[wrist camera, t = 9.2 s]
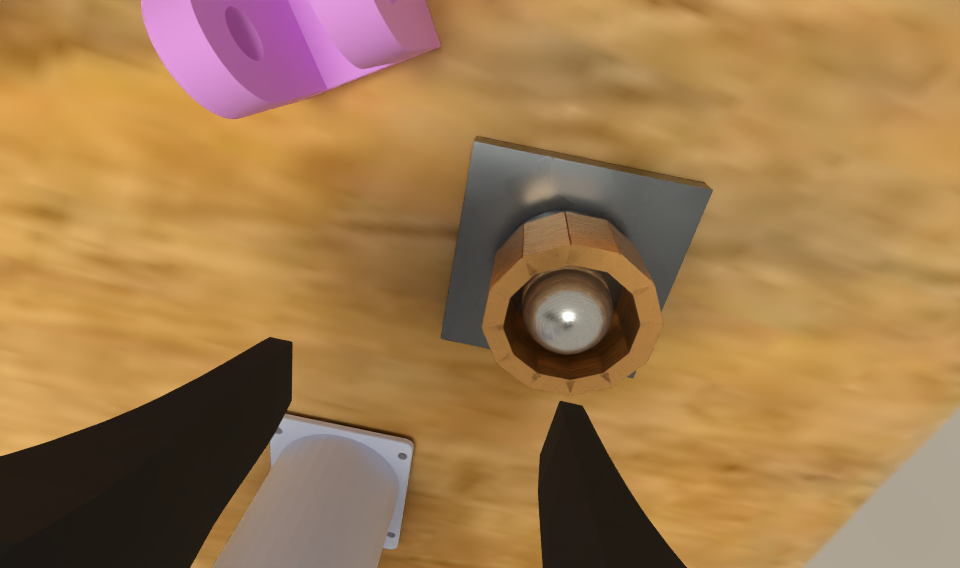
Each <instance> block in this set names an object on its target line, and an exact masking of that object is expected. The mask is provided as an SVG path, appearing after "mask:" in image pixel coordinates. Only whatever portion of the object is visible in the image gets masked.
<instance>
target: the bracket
mask: <svg viewBox="0 0 960 568" xmlns="http://www.w3.org/2000/svg"><path fill="white" fill-rule="evenodd" d="M141 9H142V15H143V19H144V23H145V27H146V29H147V32H148V35H149V37H150V40H151V42H152V44H153V46H154V48H155V50H156V52H157V54H158V55H159V57H160V59H161V60H162V62H163V63H164V65H165V67H166V68H167V69H168V71H169V72H170V74H171V75H172V76H173V77H174V79H175V80H176V81H177V82H178V84H179V85H180V86H181V87H182V88H183V89H184V90H185V91H186V92H187V93H188V94H189V95H190V96H191V97H192V98H193V99H194V100H195V101H196V102H198V103H199V104H200V105H202V106H203V107H204V108H206V109H207V110H209V111H211V112H212V113H214V114H216V115H218V116H221V117H224V118H228V119H238V118H242V117H246V116H249V115H253V114H256V113H260V112H263V111H267V110H270V109H274V108H277V107H281V106H284V105H288V104H291V103H295V102H298V101H302V100H305V99H309V98H311V97H314V96H316V95H319V94H321V93H324V92H327V91H329V90H332V89H334V88H337V87H339V86H342V85H344V84H347V83H350V82H352V81H355V80H357V79H360V78H362V77H365V76H368V75H370V74H373V73H375V72H378V71H380V70H383V69H385V68H388V67H391V66H393V65H396V64H398V63H401V62H403V61H406V60H408V59H411V58H414V57H416V56H419V55H421V54H424V53H426V52H429V51H431V50H434V49H437V48H439V47H441V45H440V42H439V39H438V36H437V33H436V30H435V27H434V24H433V21H432V18H431V15H430V12H429V9H428V6H427V3H426V0H141Z"/></svg>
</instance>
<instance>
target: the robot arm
mask: <svg viewBox="0 0 960 568" xmlns="http://www.w3.org/2000/svg"><path fill="white" fill-rule="evenodd" d="M291 401H292V342H290V341H286V340H281V339H277V338H272V337H269V338H267V339H265V340H264V341H262V342H260V343H258V344H257V345H255V346H253V347H251V348H250V349H248V350H246V351H245V352H243V353H241V354H239V355H238V356H236V357H234V358H232V359H231V360H229V361H227V362H226V363H224V364H222V365H220V366H218V367H217V368H215V369H213V370H211V371H210V372H208V373H206V374H204V375H202V376H201V377H199V378H197V379H195V380H193V381H191V382H189V383H187V384H185V385H183V386H181V387H179V388H177V389H175V390H173V391H171V392H169V393H167V394H165V395H163V396H161V397H159V398H157V399H155V400H153V401H151V402H149V403H147V404H145V405H142V406H140V407H138V408H136V409H133V410H131V411H129V412H126V413H124V414H121V415H119V416H117V417H114V418H112V419H109V420H107V421H104V422H102V423H99V424H97V425H94V426H91V427H88V428H85V429H83V430H80V431H77V432H74V433H71V434H69V435H66V436H63V437H60V438H58V439H55V440H52V441H49V442H46V443H43V444H40V445H37V446H33V447H30V448H27V449H24V450H21V451H17V452H14V453H11V454H7V455H4V456H0V568H190V567H191V565H192V563H193V561H194V559H195V558H196V556H197V554H198V552H199V550H200V549H201V547H202V545H203V543H204V541H205V540H206V538H207V536H208V534H209V532H210V531H211V529H212V527H213V525H214V524H215V522H216V521H217V519H218V517H219V516H220V514H221V513H222V511H223V509H224V508H225V507H226V505H227V504H228V502H229V501H230V499H231V498H232V496H233V495H234V493H235V492H236V490H237V489H238V488H239V486H240V485H241V483H242V482H243V480H244V479H245V477H246V476H247V474H248V473H249V471H250V470H251V469H252V467H253V466H254V464H255V463H256V461H257V460H258V458H259V457H260V455H261V454H262V452H263V451H264V449H265V448H266V446H267V445H268V443H269V442H270V455H271V470H270V472H269V474H268V475H267V477H266V479H265V480H264V482H263V484H262V485H261V487H260V489H259V490H258V492H257V493H256V495H255V497H254V498H253V500H252V502H251V503H250V505H249V507H248V508H247V510H246V512H245V513H244V515H243V517H242V518H241V520H240V522H239V523H238V525H237V527H236V528H235V530H234V532H233V533H232V535H231V537H230V538H229V540H228V542H227V543H226V545H225V547H224V548H223V550H222V552H221V553H220V555H219V557H218V558H217V560H216V562H215V563H214V565H213V567H212V568H377V567H378V564H379V560H380V557H381V553H382V550H383V548H386V549H395V548H397V546H398V543H399V537H400V531H401V525H402V518H403V512H404V506H405V499H406V493H407V487H408V481H409V474H410V468H411V462H412V455H413V449H414V444H413V443H412V442H411V441H410V440H409V439H406V438H401V437H396V436H391V435H386V434H381V433H376V432H372V431H367V430H362V429H357V428H352V427H347V426H342V425H338V424H333V423H328V422H323V421H318V420H313V419H308V418H304V417H299V416H294V415H289V414H285V413H286V411H287V409H288V407H289V405H290V403H291ZM278 427H279V428H278ZM280 428H281V429H280ZM402 453H404V454H402ZM538 501H539V517H540V532H541V547H542V562H543V568H687V567H686V566H685V565H684V564H683V562H682V561H681V560H680V559H679V558H678V557H677V555H676V554H675V553H674V552H673V550H672V549H671V548H670V547H669V545H668V544H667V543H666V541H665V540H664V539H663V538H662V536H661V535H660V534H659V532H658V531H657V530H656V528H655V527H654V526H653V524H652V523H651V522H650V520H649V519H648V517H647V516H646V515H645V513H644V512H643V510H642V509H641V507H640V506H639V504H638V503H637V501H636V500H635V498H634V497H633V495H632V494H631V492H630V490H629V489H628V487H627V486H626V484H625V482H624V481H623V479H622V477H621V476H620V474H619V472H618V470H617V469H616V467H615V465H614V464H613V462H612V460H611V458H610V457H609V455H608V453H607V451H606V449H605V448H604V446H603V444H602V442H601V440H600V438H599V436H598V434H597V432H596V431H595V429H594V427H593V425H592V423H591V421H590V419H589V417H588V415H587V413H586V411H585V409H584V408H583V406H581V405H577V404H572V403H568V402H563V401H560V402H559V404H558V407H557V410H556V413H555V415H554V418H553V421H552V423H551V426H550V429H549V432H548V434H547V437H546V440H545V443H544V445H543V448H542V451H541V454H540V463H539V481H538Z"/></svg>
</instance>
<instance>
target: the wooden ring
mask: <svg viewBox="0 0 960 568" xmlns="http://www.w3.org/2000/svg"><path fill="white" fill-rule="evenodd" d="M568 265H575V266H580V267H585V268H589V269H594V270H599V271H604V272H608V273H609V274H610V275H611V276H612V277H614V278H615V279H616V280H617V281H618V282H619V283H620V284H622V285H623V286H624V287H623V290H622V293H621V295H620V298H619V301H618V303H617V306H616V309H615V310H613V316H612V321H611V325H610V327H609V329H608V331H607V333H606V334H605V336H604V337H603V338H602V339H601V341H600V342H599V343H597V344H596V345H595V346H594V347H592V348H590V349H588V350H586V351H584V352H581V353H577V354H559V353H555V352H552V351H549V350H547V349H545V348H544V347H542V346H541V345H539V344H538V343H537V342H536V341H535V340H534V339H533V338H532V337H531V335H530V334H529V332H528V331H527V329H526V326H525V324H524V321H523V316H521V315H520V314H519V313H518V312H516V310H515V307H514V305H513V302H512V299H511V296H513V295H514V294H515V293H516V292H517V291H518V290H519V289H520V288H521V287H522V286H523V285H524V284H525V283H526V282H527V281H528V280H529V279H530V278H531V277H532V276H534V275H535V274H538V273H542V272H546V271H549V270H553V269H557V268H560V267H564V266H568ZM662 327H663V320H662V315H661V311H660V306H659V302H658V297H657V293H656V288H655V284H654V282H653V280H652V278H651V276H650V274H649V272H648V270H647V268H646V266H645V264H644V262H643V260H642V258H641V256H640V254H639V252H638V250H637V248H636V246H635V245H634V244H633V243H632V242H630V241H629V240H628V239H627V238H626V237H625V236H624V235H623V234H622V233H621V232H619V231H618V230H617V229H616V228H615V227H614V226H613V225H612V224H611V223H610V222H609V221H606V220H605V219H600V218H595V217H590V216H585V215H580V214H575V213H570V212H565V213H564V212H561V213H558V214H554V215H551V216H548V217H544V218H541V219H538V220H535V221H531V222H528V223H525V224H524V225H522V226H521V227H520V228H519V229H518V230H517V231H516V232H515V233H514V234H513V235H512V236H511V237H510V238H509V239H508V240H507V241H506V243H505V244H504V245H503V246H502V247H501V248H500V249H499V250H498V251H497V252H496V255H495V260H494V264H493V269H492V274H491V279H490V283H489V288H488V294H487V300H486V306H485V312H484V317H483V323H482V330H483V332H484V335H485V337H486V340H487V342H488V344H489V347H490V349H491V352H492V354H493V356H494V359H495V361H496V363H497V364H498V365H499V366H501V367H502V368H503V369H505V370H506V371H507V372H509V373H510V374H511V375H513V376H514V377H515V378H517V379H518V380H519V381H521V382H522V383H523V384H525V385H526V386H527V387H529V388H534V389H538V390H543V391H548V392H553V393H558V394H563V395H568V396H570V394H571V396H573V395H578V394H583V393H587V392H592V391H597V390H602V389H607V388H612V386H613V387H614V386H615V385H617V384H618V383H619V382H621V381H622V380H623V379H625V378H626V377H628V376H629V375H630V374H632V373H633V372H634V371H636V370H637V369H638V368H640V367H641V366H642V365H644V364H645V363H646V362H647V361H648V359H649V357H650V355H651V352H652V350H653V348H654V345H655V343H656V341H657V338H658V336H659V334H660V331H661V329H662Z"/></svg>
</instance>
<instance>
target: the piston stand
mask: <svg viewBox="0 0 960 568" xmlns="http://www.w3.org/2000/svg"><path fill="white" fill-rule="evenodd" d="M712 191H713V190H712V189H711V188H710V187H709V186H707V185H706V184H705V183H703V182H698V181H693V180H688V179H683V178H678V177H674V176H669V175H664V174H659V173H654V172H649V171H644V170H639V169H635V168H630V167H625V166H620V165H615V164H610V163H605V162H600V161H596V160H591V159H586V158H581V157H576V156H571V155H566V154H561V153H557V152H552V151H547V150H542V149H537V148H532V147H527V146H522V145H518V144H513V143H508V142H503V141H498V140H493V139H488V138H483V137H478V136H477V137H476V139H475V140H474V145H473V150H472V156H471V162H470V168H469V174H468V180H467V186H466V192H465V197H464V203H463V209H462V215H461V221H460V227H459V233H458V239H457V244H456V250H455V256H454V262H453V268H452V274H451V280H450V286H449V291H448V297H447V303H446V309H445V315H444V321H443V327H442V333H441V338H440V339H444V340H449V341H454V342H459V343H464V344H469V345H473V346H478V347H483V348H488V349H490V347H489V344H488V342H487V340H486V337H485V335H484V332H483V330H482V323H483V317H484V312H485V306H486V300H487V294H488V288H489V283H490V279H491V274H492V269H493V264H494V260H495V255H496V252H497V251H498V250H499V249H500V248H501V247H502V246H503V245H504V244H505V243H506V241H507V240H508V239H509V238H510V237H511V236H512V235H513V234H514V233H515V232H516V231H517V230H518V229H519V228H520V227H521V226H522V225H524V224H525V223H528V222H531V221H535V220H538V219H541V218H544V217H548V216H551V215H554V214H558V213H561V212H564V213H565V212H570V213H575V214H580V215H585V216H590V217H595V218H600V219H605V220H606V221H609V222H610V223H611V224H612V225H613V226H614V227H615V228H616V229H617V230H618V231H619V232H621V233H622V234H623V235H624V236H625V237H626V238H627V239H628V240H629V241H630V242H632V243H633V244H634V245H635V246H636V248H637V250H638V252H639V254H640V256H641V258H642V260H643V262H644V264H645V266H646V268H647V270H648V272H649V274H650V276H651V278H652V280H653V282H654V284H655V288H656V293H657V297H658V302H659V306H660V311H662V309H663V306H664V304H665V302H666V299H667V297H668V295H669V292H670V290H671V288H672V285H673V283H674V281H675V278H676V276H677V274H678V271H679V269H680V266H681V264H682V262H683V259H684V257H685V255H686V252H687V250H688V248H689V245H690V243H691V241H692V238H693V236H694V234H695V231H696V229H697V226H698V224H699V222H700V219H701V217H702V215H703V212H704V210H705V208H706V205H707V203H708V201H709V198H710V196H711V194H712ZM623 287H624V286H623V285H622V284H620V283H619V282H618V281H617V280H616V279H615V278H614V277H612V276H611V275H610V274H609V273H608V272H604V271H599V270H594V269H589V268H585V267H580V266H575V265H568V266H564V267H560V268H557V269H553V270H549V271H546V272H542V273H538V274H535V275H534V276H532V277H531V278H530V279H529V280H528V281H527V282H526V283H525V284H524V285H523V286H522V287H521V288H520V289H519V290H518V291H517V292H516V293H515V294H514V295H513V296H511V299H512V302H513V305H514V307H515V310H516V312H518V313H519V314H520V315H521V316H523V321H524V324H525V326H526V329H527V331H528V332H529V334H530V335H531V337H532V338H533V339H534V340H535V341H536V342H537V343H538V344H539V345H541V346H542V347H544V348H545V349H547V350H549V351H552V352H555V353H559V354H577V353H581V352H584V351H586V350H588V349H590V348H592V347H594V346H595V345H596V344H597V343H599V342H600V341H601V339H602V338H603V337H604V336H605V334H606V333H607V331H608V329H609V327H610V325H611V321H612V316H613V310H615V309H616V306H617V303H618V301H619V298H620V295H621V293H622V290H623ZM635 372H636V371H634V372H633V373H632V374H630V375H629V376H628V377H629V378H633V377H634V375H635Z"/></svg>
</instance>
